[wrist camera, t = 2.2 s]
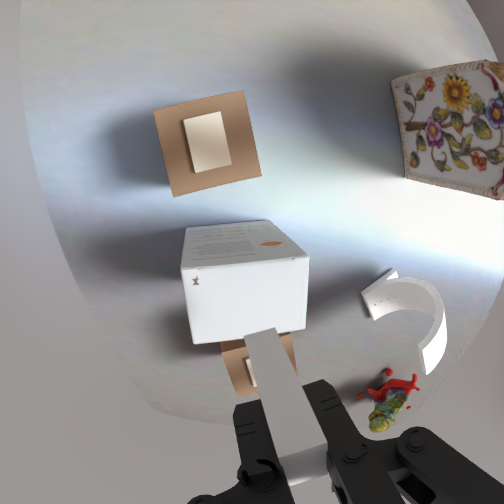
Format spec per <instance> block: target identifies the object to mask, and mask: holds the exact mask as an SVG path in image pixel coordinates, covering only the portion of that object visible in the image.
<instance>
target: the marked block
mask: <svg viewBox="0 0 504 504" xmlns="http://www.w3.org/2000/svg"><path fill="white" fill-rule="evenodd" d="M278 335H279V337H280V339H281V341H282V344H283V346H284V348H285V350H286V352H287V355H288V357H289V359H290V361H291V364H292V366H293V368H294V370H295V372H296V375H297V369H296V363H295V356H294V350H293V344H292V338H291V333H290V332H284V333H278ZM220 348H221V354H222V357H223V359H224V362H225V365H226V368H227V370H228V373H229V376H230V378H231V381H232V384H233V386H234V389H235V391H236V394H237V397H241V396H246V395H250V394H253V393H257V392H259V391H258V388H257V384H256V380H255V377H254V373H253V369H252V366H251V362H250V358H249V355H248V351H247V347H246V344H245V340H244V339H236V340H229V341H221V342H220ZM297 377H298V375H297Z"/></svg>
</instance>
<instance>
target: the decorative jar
mask: <svg viewBox="0 0 504 504" xmlns="http://www.w3.org/2000/svg"><path fill="white" fill-rule="evenodd" d="M391 87H392V91H393V95H394V100H395V105H396V110H397V114H398V120H399V127H400V135H401V142H402V149H403V156H404V168H405V177H406V178H407V179H411V180H415V181H419V182H423V183H427V184H431V185H436V186H440V187H445V188H450V189H455V190H459V191H464V192H468V193H472V194H476V195H480V196H484V197H488V198H491V199H495V200H504V63H500V62H491V61H488V60H486V59H485V60H479V61H472V62H468V63H459V64H454V65H448V66H443V67H438V68H433V69H428V70H424V71H419V72H415V73H411V74H407V75H403V76H400V77H397V78H395V79H393V80H392V81H391Z"/></svg>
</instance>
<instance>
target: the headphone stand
mask: <svg viewBox="0 0 504 504" xmlns="http://www.w3.org/2000/svg"><path fill="white" fill-rule="evenodd" d="M361 294H362V296H363V299H364V301H365V303H366V306H367V308H368V311H369V313H370V316H371V318H372V319H373V320H374V321H375V320H376V319H378V318H379V317H381V316H383V315H385V314H387V313H390V312H393V311H396V310H402V309H414V310H418V311H422V312H424V313H426V314H428V315H429V316H430V317H432V319H433V320H434V323H433V326H432V328H431V330H430V331H429V333H428V334H427V336H426V337H425V338H424V339H423V340H422V341H421V342H420V343H419V344H418V345H417V347H418V352H419V357H420V362H421V367H422V371H423V372H424V373H425V374H426V375H428V374H429V373H430V372H431V371H432V370H433V369H434V368H435V366H436V365H437V364H438V362H439V361H440V359H441V357H442V355H443V353H444V350H445V347H446V342H447V331H446V322H445V313H444V306H443V301H442V298H441V296H440V294H439V292H438V291H437V290H436V289H435V288H434V287H433V286H432V285H431V284H429V283H428V282H426V281H423V280H421V279H417V278H412V277H398V275H397V272H396V271H395V270H394V269H391V270H390V271H389V272H387V273H386V274H385V275H383V276H382V277H381V278H379V279H378V280H377V281H375V282H374V283H373V284H371V285H370V286H368V287H367V288H366V289H364V290H363V291H361Z"/></svg>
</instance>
